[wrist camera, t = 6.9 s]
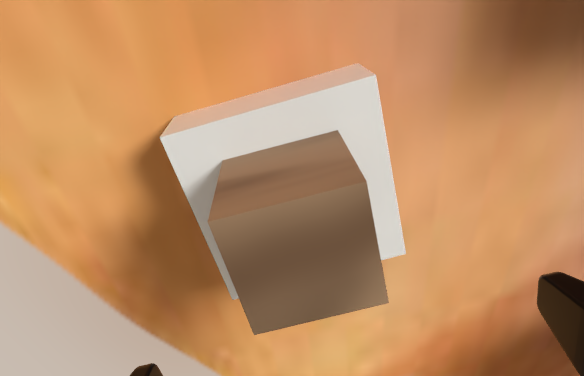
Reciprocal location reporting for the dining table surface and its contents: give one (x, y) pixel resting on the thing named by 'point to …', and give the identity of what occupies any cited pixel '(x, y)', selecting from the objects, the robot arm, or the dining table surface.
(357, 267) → the walnut cube
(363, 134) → the block
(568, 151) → the dining table surface
